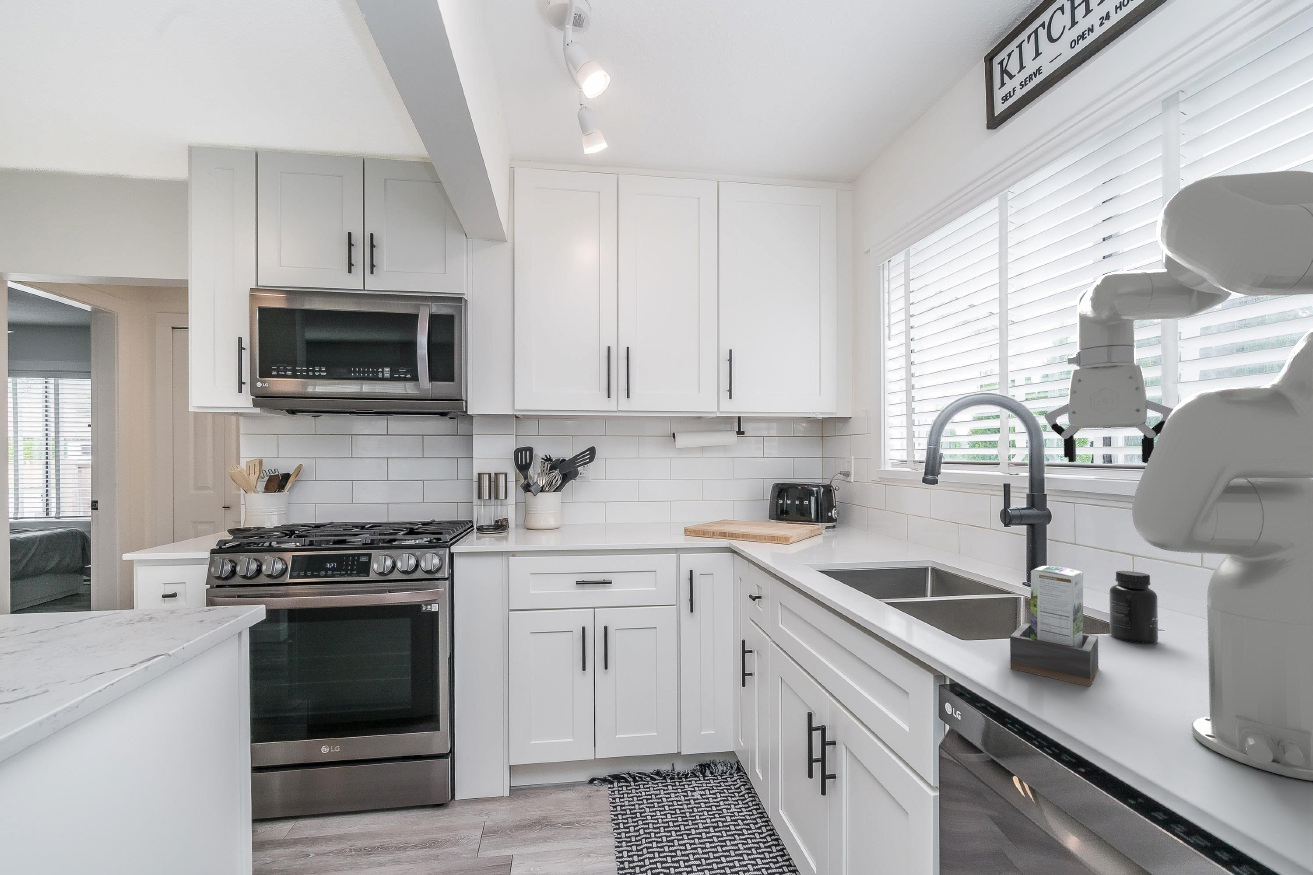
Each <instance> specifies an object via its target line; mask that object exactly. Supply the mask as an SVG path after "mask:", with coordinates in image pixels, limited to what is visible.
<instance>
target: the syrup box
mask: <svg viewBox="0 0 1313 875" xmlns="http://www.w3.org/2000/svg"><path fill="white" fill-rule="evenodd" d="M1029 624H1031V625H1030V628H1031V629H1030V638H1031V639H1036V640H1042V641H1047V642H1052V643H1057V644H1062V645H1068V646H1073V647H1078V648H1083V633H1084V572H1083V571H1081V570H1077V569H1074V568H1073V569H1072V568H1069V567H1063V566H1054V565H1053V566H1052V565H1042V566H1038V567H1036V568H1034V569H1032V570H1031V571H1030V623H1029Z"/></svg>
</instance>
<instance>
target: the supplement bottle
mask: <svg viewBox="0 0 1313 875" xmlns="http://www.w3.org/2000/svg"><path fill="white" fill-rule="evenodd" d="M1115 582H1116V583H1117V584H1113V585H1112V586H1111V587H1110V588H1109V593H1108V594H1109V633H1110V635H1111V636H1112V637H1113V636H1114V638H1115V639H1118V640H1120V641H1125V642H1129V643H1136V644H1143V645H1152V644H1153V645H1154V644H1156V643H1158V641H1159V615H1158V614H1159V610H1158V609H1159V608H1158V607H1159V606H1158V605H1159V604H1158V600H1159V599H1158V595H1157V593H1156V592H1155V591H1154V590H1153V589H1151V588H1149V587H1150V586H1151V575H1150V574H1148V573H1145V572H1139V571H1131V570H1117V571H1115Z"/></svg>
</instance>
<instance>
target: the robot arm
mask: <svg viewBox="0 0 1313 875" xmlns="http://www.w3.org/2000/svg"><path fill="white" fill-rule="evenodd" d="M1156 236H1157V241H1158V244H1159V245H1160V248H1161V249H1162V251H1163V260H1162V261H1163V265H1164V269H1151V270H1132V271H1131V270H1130V271H1115V272H1110V273H1107V274H1104V275H1102V276H1101V277H1099V278H1098V279H1097V280H1096V281H1095V283H1093V285H1092V286H1091V287H1089V288H1087V289H1085V290H1083V291H1081V293H1080V294H1079V295H1078V297H1077V304H1076V305H1077V307H1076V308H1077V311H1076V312H1077V353H1076V354H1075V355H1073V356H1068V357H1067V365H1070V366H1071V365H1073V366H1076V367H1077V369H1073V370H1072V371H1071V376H1070V382H1069V389H1068V403H1067V404H1065V405H1062V406H1060V407H1058V408H1055V409H1053V410H1052V411H1050V412H1047V413H1045V414H1044V419H1045V421H1046V422H1047V424H1048V425H1049V426H1050V428H1051V430H1052V431H1054V433H1056V434H1057V435H1058V436H1060V437H1061V438H1062V439H1063V457H1064V458H1067V460H1068V463H1075V462H1076V461H1077V452H1076V451H1077V442H1076V439H1075V438H1074V436H1075V435H1076V434H1077V433H1078V432H1079V431H1080V430H1081V429H1102V428H1103V429H1104V428H1105V429H1109V428H1111V429H1112V428H1115V429H1116V428H1136V429H1138V430H1139V431H1140V432H1141V433H1142V434H1143V437H1142V438H1141V462H1142V463H1143V464H1146V465H1145V468H1144V470H1143V472H1142V475H1141V477H1140V479H1139V481H1138V485H1137V487H1136V490H1135V492H1134V495H1133V496H1134V497H1133V501H1132V509H1131V511H1132V513H1131V515H1132V522H1133V525H1134V528H1135V530H1136V532H1137V533H1138V535H1139V536H1140V537H1141V539H1143V540H1144V541H1145V542H1146V543H1147V544H1149V545H1151V546H1153V547H1155V548H1157V549H1160V550H1164V551H1169V552H1173V553H1174V552H1176V553H1188V554H1189V553H1190V554H1209V555H1211V554H1212V555H1213V554H1214V555H1226V556H1225V557H1224V558H1223V560H1222V561H1221V562H1220V563H1219V565H1218V566H1217V567H1216V569H1215V570H1214V572H1213V573H1212V575H1211V578H1210V580H1209V583H1208V587H1207V597H1206V598H1207V601H1206V602H1207V604H1206V605H1207V606H1206V607H1207V608H1206V609H1207V612H1206V613H1207V645H1208V646H1207V648H1208V649H1207V650H1208V652H1207V654H1208V694H1209V696H1208V697H1209V698H1208V700H1209V702H1208V704H1209V716H1206V717H1200V718H1197V719H1194V720H1193V722H1192V724H1191V726H1192V727H1191V732H1192V735H1193V736H1194V738H1195V739H1196V740H1197V741H1198V742H1199V743H1201V744H1203V745H1204V746H1205V747H1207V748H1209V749H1211V750H1213V752H1216V753H1219V754H1220V755H1221V756H1224V757H1227V758H1229V759H1231V760H1233V761H1237V762H1239V763H1241V764H1245V765H1247V766H1250V767H1252V768H1255V769H1260V770H1262V771H1266V772H1269V773H1271V774H1272V773H1274V774H1277V775H1281V776H1284V777H1288V778H1289V777H1290V778H1294V779H1300V780H1304V781H1312V782H1313V327H1312V328H1311V329H1309V331H1308V332H1307V333H1305V335H1304V336H1303V337H1302V338H1301V339H1300V340H1299V341H1298V342H1297V344H1295V346H1294V348H1293V349H1292V350H1291V353H1290V355H1289V357H1288V359H1287V361H1286V363H1285V365H1284V367H1283V368H1282V369H1281V371H1280V373H1279V375H1278V376H1277V377H1276V378H1275V379H1274V381H1272V382H1270V383H1269V384H1266V385H1263V386H1259V387H1230V388H1229V387H1228V388H1225V387H1224V388H1214V389H1208V390H1202V391H1199V392H1197V393H1194V394H1192V395H1190V396H1188V397H1186V398H1185V399H1183V400H1182V401H1181V402H1179V403H1178V404H1177V405H1176V406H1175V407H1174V408H1171V407H1169V406H1165V405H1163V404H1160V403H1156V402H1154V401H1151V400H1148V399H1147V393H1146V382H1145V376H1144V373H1143V368H1142V366H1141V365H1140V364H1136V334H1135V333H1136V332H1135V321H1153V320H1154V321H1155V320H1156V321H1157V320H1158V321H1159V320H1178V319H1184V318H1188V317H1192V316H1196V315H1198V314H1201V313H1203V312H1205V311H1208V310H1210V309H1212V308H1215V307H1216V306H1218V305H1221V304H1222V303H1224V302H1225V301H1226V300H1228V299H1229V298H1230V297H1231V296H1232V294H1236V295H1241V296H1248V297H1249V296H1250V297H1273V296H1276V297H1277V296H1294V295H1295V296H1297V295H1313V172H1312V171H1305V170H1281V171H1268V172H1258V173H1257V172H1254V173H1242V174H1231V175H1229V174H1228V175H1218V176H1211V177H1210V176H1209V177H1204V178H1201V179H1198V180H1195V181H1193V182H1191V183H1189V184H1187V185H1185V186H1184V187H1183V188H1181V189H1179V190H1178V191H1177V192H1176V193H1174V195H1173V196H1171V198H1170V199H1169V200H1168V201H1167V203H1166V204H1165V205H1164V207H1163V208H1162V211H1161V213H1160V214H1159V216H1158V221H1157V226H1156ZM1148 410H1150V411H1153V412H1155V413H1158V414H1161V415H1162V417H1161V419H1160V421H1159V422H1158V423H1157V424H1155V425H1154V426H1153V427H1150V426H1148V424H1146V422H1147V418H1148V417H1147V416H1148ZM1066 414H1067V418H1068V420H1067V421H1068V423H1069V425H1068V427H1067V428H1064V427H1063V426H1062V425H1061V424H1059V422H1058V418H1059V417H1061V416H1064V415H1066ZM1157 436H1158V437H1157ZM1156 437H1157V440H1156V442H1155V438H1156Z"/></svg>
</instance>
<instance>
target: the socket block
mask: <svg viewBox="0 0 1313 875" xmlns="http://www.w3.org/2000/svg"><path fill="white" fill-rule="evenodd" d="M1030 625H1031V624H1030V623H1027V622H1023V623H1022V624H1021V625H1020V626H1019V627H1018V628H1016V630H1015V631H1014V632H1012V634H1011V635H1010V636H1009V646H1010V647H1009V648H1010V650H1009V651H1010V652H1009V653H1010V654H1009V656H1010V657H1009V658H1010V661H1009V662H1010V665H1009V666H1010V668H1009V669H1012V670H1016V671H1019V672H1024V673H1030V674H1034V675H1038V676H1043V677H1047V678H1052V679H1055V680H1059V681H1064V682H1069V683H1073V684H1076V685H1077V684H1078V685H1082V686H1086V687H1091V686H1092V684H1093V681H1094V679H1095V676H1096V675H1097V672H1098V670H1099V636H1098V635H1094V634H1090V633H1089V634H1088V633H1084V632H1083V648H1078V647H1073V646H1068V645H1062V644H1057V643H1052V642H1047V641H1042V640H1036V639H1031V638H1030V629H1031V628H1030Z"/></svg>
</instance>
